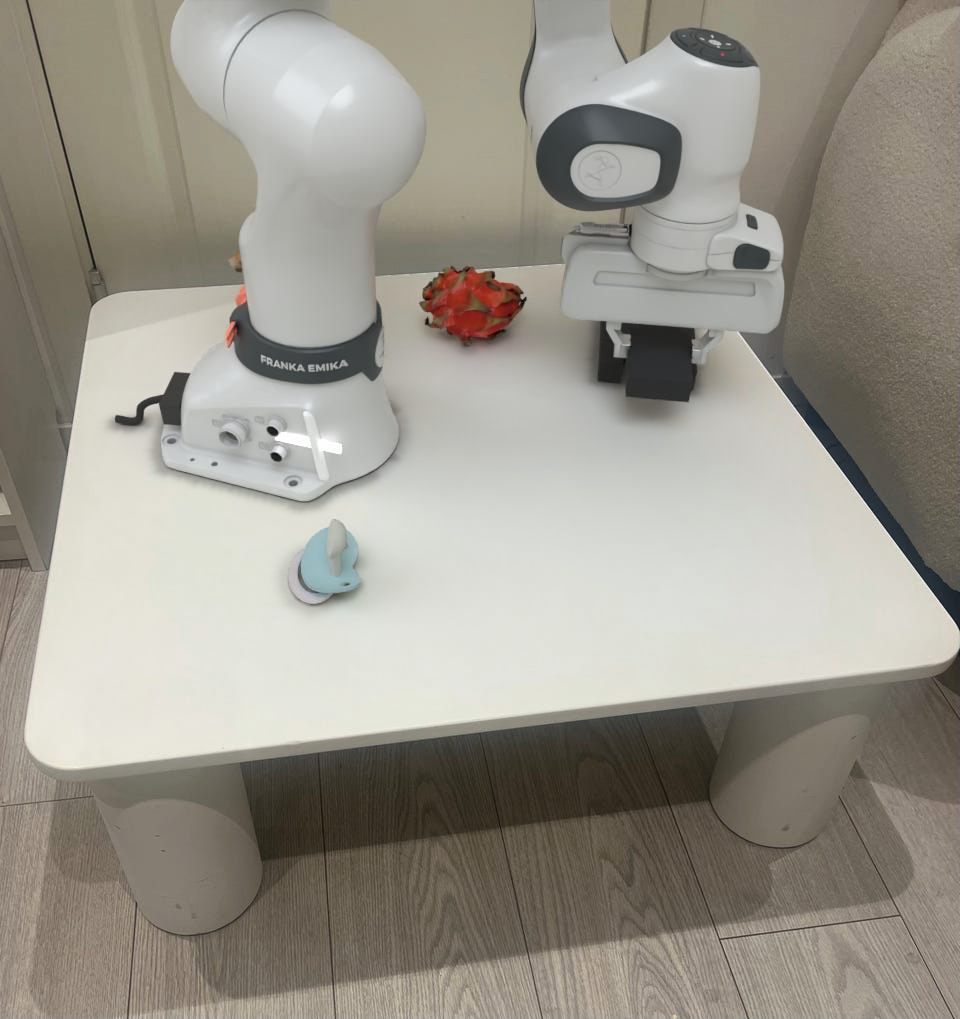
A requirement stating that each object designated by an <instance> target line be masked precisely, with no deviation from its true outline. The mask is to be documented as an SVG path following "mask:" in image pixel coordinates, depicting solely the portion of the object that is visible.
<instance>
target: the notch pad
mask: <svg viewBox="0 0 960 1019" xmlns="http://www.w3.org/2000/svg"><path fill="white" fill-rule="evenodd" d="M599 322H600V323H599V339H598V360H597V379H596V380H597V382H600V383H601V382H602V383H612V384H621V380H622V374H623V368H624V362H626V358H619V357H614V342H613V341H612V339H611V337H610V335H609V334H608V332H607V330H606V321H599ZM636 325H637V324H633V323H622V324H621V332H622V334H628V332H629V327H632V328H636ZM680 331H681V332H690V341H692V340H696V331H695V328H685V327H680ZM692 373H693V384H692V389H691V391H694V388H695V383H696V379H697V374H698V364H694V363H692Z"/></svg>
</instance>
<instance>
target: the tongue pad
mask: <svg viewBox="0 0 960 1019" xmlns="http://www.w3.org/2000/svg"><path fill="white" fill-rule="evenodd" d="M628 334H629V335H631V340H630V341H631V346H630V351H629V356H628V358H626V361H625V393H624V394H625V395H624V396H625V397H626V398H633V399H646V400H657V401H666V402H667V401H670V402H679V403H680V402H681V403H690V398H691V394H692V390H691V389H692V384H693V373H692V357H691V341H690V332H681V331H680V327H672V326H659V325H646V324H637V325H636V328H632V327H629V332H628Z"/></svg>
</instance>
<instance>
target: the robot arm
mask: <svg viewBox="0 0 960 1019" xmlns="http://www.w3.org/2000/svg"><path fill="white" fill-rule="evenodd" d="M533 15H534V31H533V37H532V41H531V45H530V48H529V51H528V54H527V57H526V60H525V63H524V66H523V69H522V72H521V77H520V83H519V91H518V92H519V93H518V94H519V104H520V108H521V112H522V115H523V117H524V120H525V123H526V125H527V129H528V135H529V139H530V144H531V149H532V154H533V159H534V163H535V167H536V168H535V169H536V173H537V175H538V178H539V181H540V183H541V186H542V187H543V188H544V190H545V191H546V193H547V194H548V195H549V196H550V197H551V198H552V199H554V200H555V201H556V202H558V203H559V204H561V205H562V206H564V207H567V208H568V209H572V210H574V211H575V210H576V211H580V212H602V211H603V212H604V211H611V210H620V209H626V208H633V212H632V218H631V223H629V224H628V223H617V222H616V223H614V222H612V223H598V222H596V221H581V222H580V223H579V224H578V225H575V226H571V227H570V228H568V229H567V230H566V231H565V232H564V233H563V235H562V238H561V243H560V245H561V246H560V258H561V260H562V262H563V263H564V264H565V266H564V267H565V268H564V271H563V277H562V283H561V290H560V297H559V309H560V311H561V313H562V314H563V315H564V316H565V317H566V318H567V319H571V320H583V321H595V322H600V321H606V330H607V332H608V334H609V335H610V337H611V339H612V341H613V342H614V357H619V358H628V356H629V351H630V346H631V341H630V340H631V335H629V334H622V332H621V324H622V323H633V324H646V325H659V326H672V327H685V328H694V329H698V330H699V329H700V330H707V331H706V332H705V333H704V334H703V336H702V337H701V338H700V339H695V340H692V341H691V357H692V363H694V364H697V365H705V364H706V361H707V357H708V352H710V351H711V350H713V348H714V347H715V346H717V344H719V343H720V342H722V340H723V338H724V335H725V331H726V332H737V333H752V334H763V335H766V334H769V333H771V332H772V331H773V330H775V329H776V328H777V327H778V326H779V324H780V321H781V318H782V313H783V307H784V299H785V279H784V273H783V267H782V263H783V260H784V253H785V251H784V249H785V246H784V238H783V234H782V230H781V227H780V225H779V222H778V221H777V218H776V217H775V216H774V215H773V214H771V213H769V212H766V211H764V210H761V209H757V208H755V207H753V206H750V205H748V204H746V203H743V202H741V189H740V181H741V177H742V174H743V172H744V171H745V170H744V169H745V168H746V167H747V165H748V162H749V160H750V156H751V152H752V148H753V144H754V139H755V132H756V127H757V121H758V115H759V108H760V96H761V80H762V79H761V70H760V66H759V64H758V62H757V61H756V59H755V57H754V56H753V54H752V53H751V52H750V51H749V49H748V48H747V47H746V46H745V45H744V44H742V43H741V42H740V41H739V40H737V39H735V38H732V37H731V36H728V35H727V34H724V33H722V32H720V31H715V30H712V29H708V28H702V27H682V28H676V29H674V30H672V31H671V32H669V33H668V34H667V36H666V37H665V38H664V39H663V40H662V41H661V42H659V43H658V44H657V45H656V46H654V47H653V48H651V49H650V50H648V51H647V52H645V53H644V54H642V55H640V56H639V57H636V58H635V59H633V60H631V61H629V60H628V58H627V56H626V53H625V51H624V50H623V48H622V46H621V44H620V43H619V41H618V39H617V36H616V35H615V33H614V29H613V25H612V21H611V0H533ZM169 40H170V43H169V44H170V45H169V46H170V53H171V59H172V63H173V66H174V68H175V71H176V73H177V75H178V77H179V78H180V80H181V82H182V83H183V86H184V87H185V89H186V91H187V93H188V94H189V95H190V96H191V98H192V100H193V101H194V102H195V104H196V105H197V107H198V108H199V110H200V111H201V112H202V113H203V114H204V116H206V117H207V118H208V119H209V120H210V121H212V122H213V123H214V124H216V126H218V127H219V128H221V129H222V130H223V131H224V132H226V133H227V134H228V135H229V136H230V137H232V138H233V139H234V140H235V141H237V142H238V143H240V145H241V146H242V147H243V148H244V150H246V152H247V154H248V156H249V158H250V160H251V163H252V164H253V167H254V170H255V175H256V181H257V193H256V200H255V201H256V203H255V209H254V211H252V212H251V213H250V214H249V215H248V216H247V217H246V219H245V220H244V221H243V223H242V224H241V228H240V229H239V230H240V231H239V234H238V248H239V249H240V256H241V262H242V269H243V273H242V276H243V282H244V283H243V284H242V286H240V289H239V293H238V294H237V295H236V296H235V304H236V307H235V308H234V309H233V311H232V312H231V314H230V316H229V318H228V319H229V320H228V321H229V325H228V327H227V330H226V332H225V336H224V337H225V338H224V339H225V340H223V341H221V342H219V343H217V344H215V345H213V346H212V347H211V348H209V349H208V350H206V352H205V353H203V355H202V356H201V357H200V359H198V361H197V362H196V364H195V365H194V367H193V368H192V371H191V372H181V371H180V372H179V371H173V374H172V375H171V378H170V380H169V382H168V384H167V386H166V389H165V390H164V393H163V394H158V395H153V396H150V397H147V398H145V399H143V400H142V401H140V402H139V403H138V404H137V405H136V411H135V413H136V415H135V416H134V417H132V416H131V417H130V416H124V415H121V414H120V415H119V414H116V415H115V416H114V422H115V423H116V424H122V425H128V426H135V425H139V424H141V423H142V422H143V420H144V418H145V409H146V408H148V407H150V406H152V405H153V406H154V405H157V404H158V408H159V411H160V416H161V419H162V420H161V421H162V424H163V428H162V433H161V437H160V449H161V457H162V460H163V463H164V464H165V466H166V467H167V468H170V469H172V470H176V471H180V472H183V473H187V474H192V475H196V476H199V477H204V478H207V479H212V480H215V481H218V482H223V483H227V484H232V485H235V486H239V487H241V488H246V489H250V490H254V491H259V492H262V493H266V494H270V495H275V496H278V497H283V498H286V499H290V500H294V501H296V502H297V501H298V502H310V501H313V500H315V499H317V498H319V497H320V496H322V495H324V494H325V493H326V492H328V491H329V490H330V489H332V488H333V487H336V486H338V485H340V484H343V483H347V482H349V481H354V480H356V479H359V478H361V477H363V476H366V475H368V474H370V473H371V472H373V471H375V470H376V469H378V468H379V467H381V466H382V465H384V463H385V462H387V460H388V459H389V458H390V457H391V456H392V454H393V453H394V451H395V450H396V448H397V446H398V443H399V439H400V426H399V423H398V420H397V417H396V415H395V414H394V411H393V408H392V406H391V401H390V398H389V395H388V391H387V387H386V382H385V377H384V373H383V367H384V364H385V356H386V346H385V342H386V341H385V326H384V325H383V316H382V315H383V314H382V307H381V305H380V302H379V300H378V299H377V282H376V280H377V278H376V276H377V275H376V233H377V226H378V222H379V217H380V214H381V210H382V207H383V204H384V203H385V202H387V201H389V200H390V199H391V198H393V197H394V196H395V195H397V194H398V193H399V192H400V191H401V190H402V189H403V188H404V187H405V186H406V185H407V183H408V182H409V181H410V179H411V178H412V177H413V175H414V173H415V172H416V170H417V168H418V166H419V164H420V161H421V159H422V156H423V154H424V149H425V146H426V141H427V140H426V139H427V138H426V137H427V118H426V113H425V110H424V106H423V103H422V101H421V99H420V97H419V95H418V93H417V91H415V89H414V88H413V86H411V84H410V82H408V81H407V79H406V78H405V77H404V76H403V75H402V73H401V72H400V71H399V70H398V69H397V68H396V67H395V66H394V65H393V64H392V62H390V60H389V59H388V58H387V57H386V56H385V55H384V54H383V53H382V52H381V51H379V49H377V48H376V47H374V46H373V45H371V44H370V43H368V42H366V41H365V40H363V39H362V38H359V37H358V36H356V35H354V34H352V33H351V32H349V31H347V30H345V28H342V27H341V26H339V25H337V24H336V23H335V21H334V19H333V15H332V12H331V6H330V0H184V1H182V3H181V5H180V6H179V8H178V10H177V12H176V14H175V17H174V19H173V23H172V26H171V31H170V39H169ZM239 249H238V250H239Z"/></svg>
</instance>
